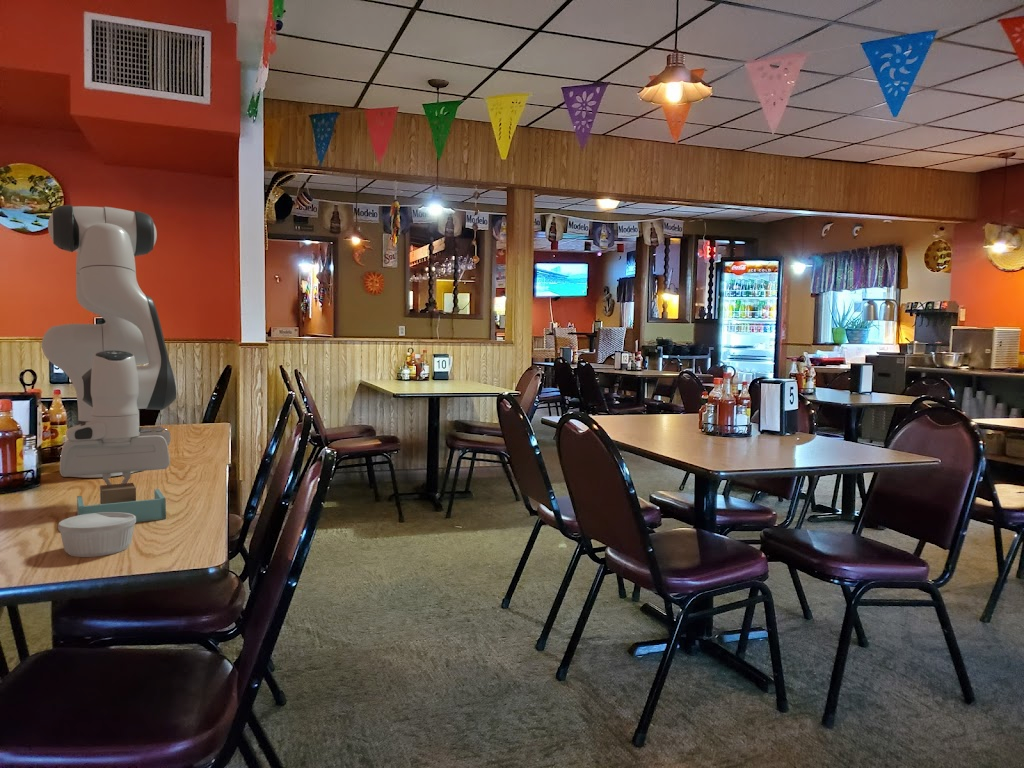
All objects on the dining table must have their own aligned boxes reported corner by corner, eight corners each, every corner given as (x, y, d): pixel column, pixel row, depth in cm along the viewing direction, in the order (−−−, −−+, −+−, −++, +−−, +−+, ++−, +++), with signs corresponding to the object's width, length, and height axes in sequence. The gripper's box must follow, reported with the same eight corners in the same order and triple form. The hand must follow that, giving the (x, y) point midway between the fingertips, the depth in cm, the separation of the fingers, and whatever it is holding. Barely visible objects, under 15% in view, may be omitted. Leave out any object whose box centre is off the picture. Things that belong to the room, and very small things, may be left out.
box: (77, 516, 141) (77, 496, 141) (158, 507, 149) (158, 489, 149) (79, 528, 132) (78, 507, 132) (165, 518, 140) (165, 498, 140)
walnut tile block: (100, 509, 147) (100, 485, 147) (133, 506, 150) (132, 482, 150) (102, 515, 142) (102, 490, 142) (136, 511, 145) (135, 487, 145)
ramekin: (148, 541, 125) (148, 511, 125) (114, 560, 114) (114, 528, 113) (84, 540, 125) (83, 510, 124) (43, 559, 114) (43, 527, 113)
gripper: (168, 424, 157) (169, 486, 158) (58, 429, 146) (60, 495, 146) (172, 427, 152) (173, 491, 152) (59, 432, 140) (60, 501, 141)
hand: (116, 493), depth 149 cm, fingers closed
